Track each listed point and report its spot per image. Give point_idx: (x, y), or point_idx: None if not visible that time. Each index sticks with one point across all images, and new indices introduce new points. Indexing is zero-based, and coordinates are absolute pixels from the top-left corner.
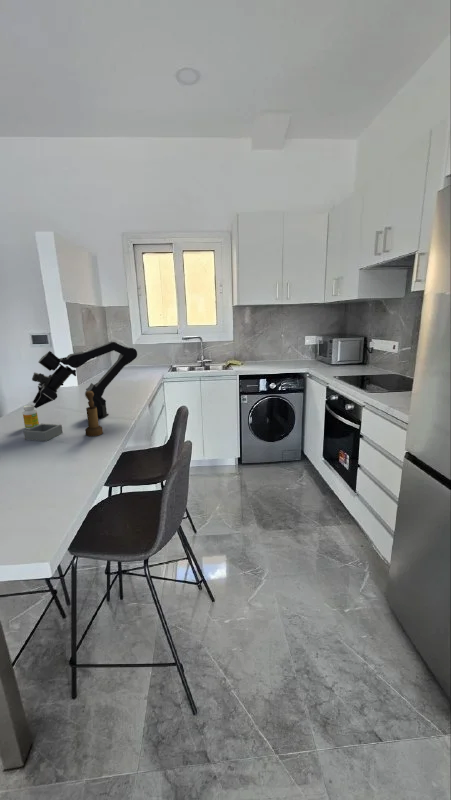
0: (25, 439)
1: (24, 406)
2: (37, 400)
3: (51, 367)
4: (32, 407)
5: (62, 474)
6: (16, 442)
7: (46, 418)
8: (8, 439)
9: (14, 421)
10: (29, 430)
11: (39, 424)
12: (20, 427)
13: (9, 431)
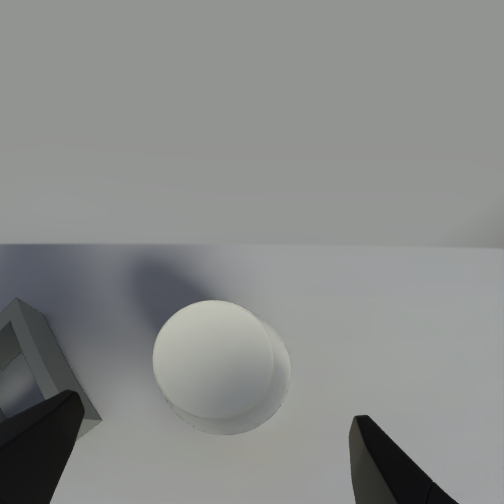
0: (42, 315)
1: (212, 310)
2: (358, 478)
3: None
4: (166, 393)
5: None
6: (39, 278)
7: None
8: (99, 251)
9: (444, 285)
10: (6, 323)
11: None
12: (287, 317)
13: (237, 258)
